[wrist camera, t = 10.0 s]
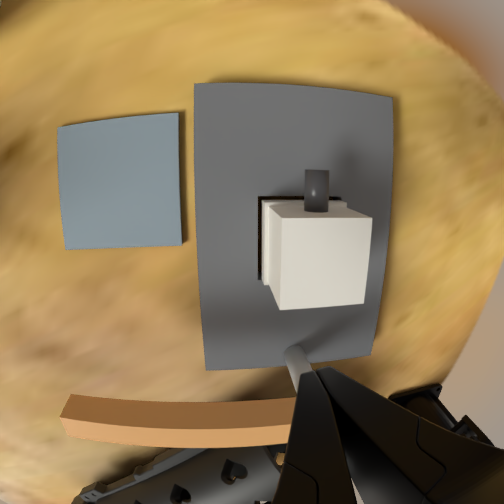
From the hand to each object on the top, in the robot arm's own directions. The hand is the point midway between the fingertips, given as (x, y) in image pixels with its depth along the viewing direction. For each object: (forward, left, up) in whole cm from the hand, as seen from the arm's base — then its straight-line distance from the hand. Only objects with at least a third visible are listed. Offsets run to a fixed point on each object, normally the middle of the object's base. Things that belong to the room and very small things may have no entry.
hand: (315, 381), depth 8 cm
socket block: (-2, -1, -13) cm, 13 cm away
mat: (+9, -5, -13) cm, 16 cm away
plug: (-2, -1, -13) cm, 13 cm away
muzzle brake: (+12, +18, -9) cm, 24 cm away
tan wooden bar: (+4, +7, -6) cm, 10 cm away
